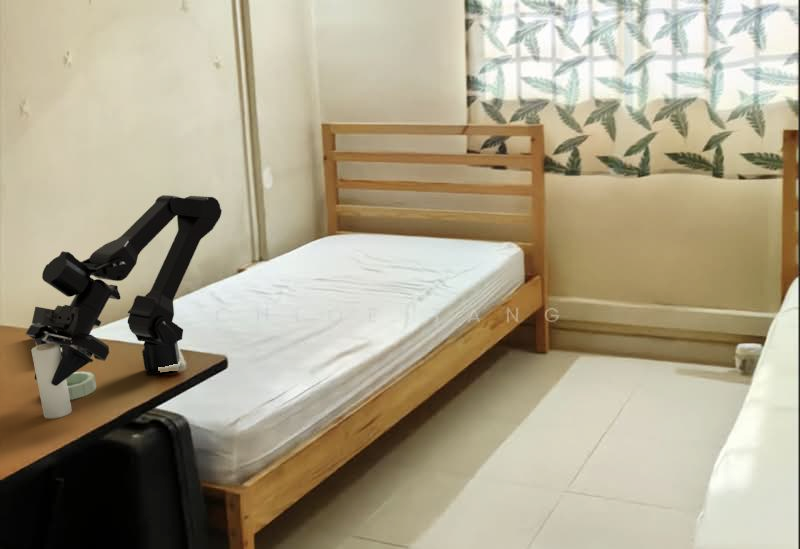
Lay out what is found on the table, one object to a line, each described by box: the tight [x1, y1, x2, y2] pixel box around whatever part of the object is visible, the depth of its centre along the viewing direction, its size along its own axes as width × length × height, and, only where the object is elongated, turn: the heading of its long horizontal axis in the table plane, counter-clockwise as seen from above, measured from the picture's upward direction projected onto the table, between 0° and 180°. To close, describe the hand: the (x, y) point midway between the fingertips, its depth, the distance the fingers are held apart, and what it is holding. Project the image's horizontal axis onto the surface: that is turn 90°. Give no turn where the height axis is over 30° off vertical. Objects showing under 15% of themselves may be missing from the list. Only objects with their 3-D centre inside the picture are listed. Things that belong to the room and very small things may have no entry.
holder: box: [66, 371, 97, 401], centre depth 195 cm, size 9×9×2 cm
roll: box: [30, 343, 73, 419], centre depth 183 cm, size 5×5×13 cm
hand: (45, 382), depth 182 cm, fingers closed on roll, 5 cm apart
